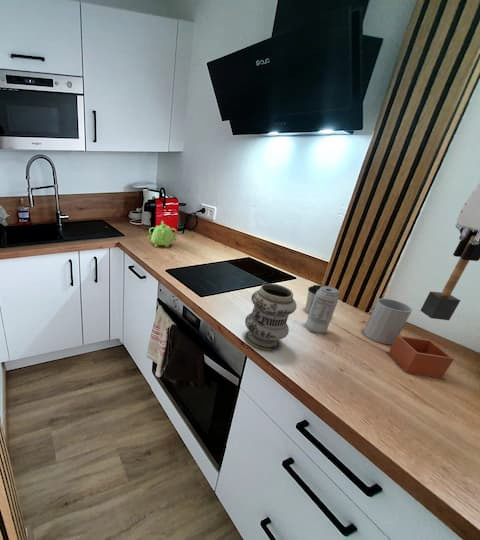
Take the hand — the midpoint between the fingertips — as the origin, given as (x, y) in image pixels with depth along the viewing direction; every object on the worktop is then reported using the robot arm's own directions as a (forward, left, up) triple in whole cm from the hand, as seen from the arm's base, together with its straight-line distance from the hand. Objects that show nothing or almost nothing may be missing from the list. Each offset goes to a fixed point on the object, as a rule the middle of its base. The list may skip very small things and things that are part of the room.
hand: (465, 257), depth 70 cm
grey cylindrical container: (+2, -11, -32) cm, 34 cm away
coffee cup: (+18, -22, -32) cm, 43 cm away
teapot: (+81, -85, -32) cm, 122 cm away
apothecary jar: (+40, +2, -32) cm, 51 cm away
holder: (0, +2, -32) cm, 32 cm away
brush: (0, 0, -17) cm, 17 cm away
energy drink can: (+21, -10, -32) cm, 40 cm away
